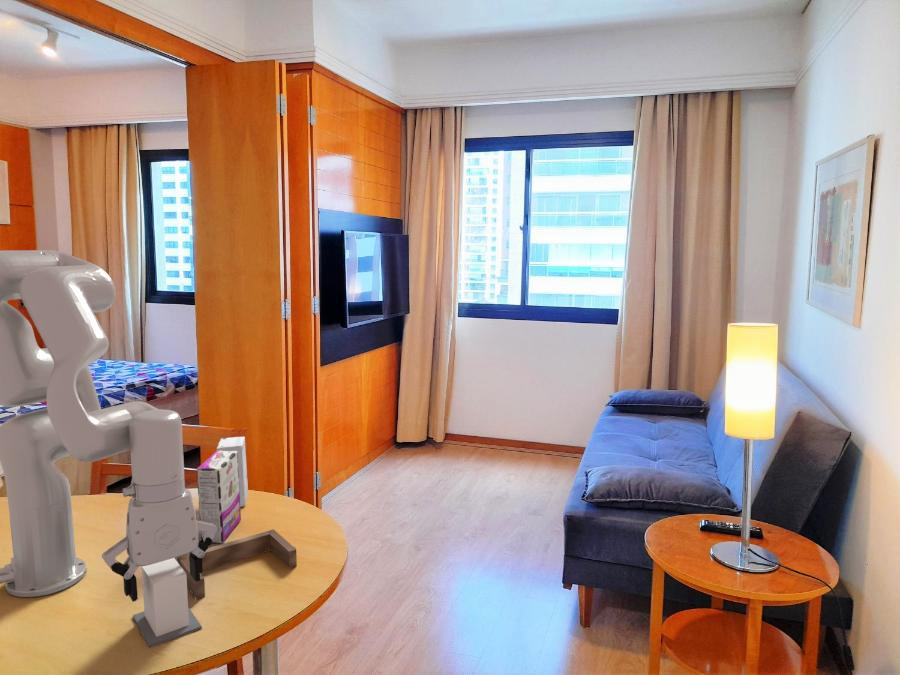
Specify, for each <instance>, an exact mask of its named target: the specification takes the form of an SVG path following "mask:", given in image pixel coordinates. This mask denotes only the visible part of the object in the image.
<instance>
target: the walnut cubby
mask: <svg viewBox="0 0 900 675" xmlns="http://www.w3.org/2000/svg"><path fill="white" fill-rule="evenodd" d="M268 550H269V551H270V550H271V551H270V552H271V553H273V554H274V556H276V557H277V558H278V559H279V560H280V561H281V562H282V563H283V564H284V565H285V566H286V567H287V566H288V567H289V568H290V569H292V568H295V567H294V566H296V567H297V563H298V562H297V556H298V555H297V548H295V547H294V546H293V545H292V544H291V543H290V542H288V541H287V540H286V538H284V537H283V536H282V535H281V534H279V533H278V531H276V530H275V529H270V530H266V531H263V532H261V533H256V534H253V535H249V536H245V537H243V538H238V539H235V540H232V541H228V542H226V543H225V542H224V543H220V544H218V545H214V546H211V547H210V546H209V547H208V549H207V550H206V551H205V555H204V556H203V557H202V567H203V570H204V571H206V570H210V569H209V568H211V569H214V568H217V567H220V566H224V565H226V563H227V564H231V563H234V562H237V561H240V560H243V559H246V558H250V557H252V556H256V555H259V553H260V554H262V552H263V553H265V551H266V552H269V551H268ZM189 554H190V553H189ZM189 554H186V555H182V556H179V557H176V559H177V560H176V561H177V562H178V564H179V565H180V566H181V568H182V569H183V570H184V571H185V573H186V576H187V590H189V591H190V593H191V594H192V596H193V597H194V598H195V600H199V599H202V598H206V591H205V590H206V588H205V587H206V586H205V578H204V576H203V575H202V573H200V581H195V580H194V579H193V578H192V576H191V575H190V562H189ZM223 564H224V565H223ZM213 567H214V568H213ZM288 567H287V568H288ZM289 568H288V569H289Z"/></svg>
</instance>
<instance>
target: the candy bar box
mask: <svg viewBox="0 0 900 675" xmlns="http://www.w3.org/2000/svg"><path fill="white" fill-rule="evenodd" d="M237 452H238V451H222V450H219V451H217V450H216V451H215V452H214V453H213V454H212V455H210V457H209V458H207V459H206V460H205V461H204V462H203V463H202V464H201V465H199V466H198V467H197V468H196V478H197V479H196V480H197V496H198V507H199V508H198V509H199V510H198V511H199V521H202V522H207V523H212V524H214V525H215V526H216V527H217V531H216V533H215V536H214V538H213V539H212V544H224V543H225V541H226V540H227V539H228V537H229V536H230V535H231V533H233V531H234V529H236V527H237V526H238V525H239V524H240V522H241V520H242V516H241V507H240V491H239V473H238V454H237ZM204 535H205V532H204V531H200V540H201V539H202V537H203V536H204Z"/></svg>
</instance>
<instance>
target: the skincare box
mask: <svg viewBox="0 0 900 675" xmlns="http://www.w3.org/2000/svg"><path fill="white" fill-rule="evenodd" d="M217 444H218V445H217V447H216V451H219V450H222V451H238V452H237V454H238V473H239V491H240V508H244V507H246V505H247V504H246V502H247V498H248V496H249V488H248V487H249V486H248V483H249V482H248V471H247V470H248V469H247V455H246V437H245V436H233V437H224V438H220V440H219V442H217ZM247 491H248V492H247Z"/></svg>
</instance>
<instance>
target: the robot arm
mask: <svg viewBox="0 0 900 675" xmlns="http://www.w3.org/2000/svg"><path fill="white" fill-rule="evenodd" d="M116 294H117V292H116V287H115V283H114V281H113V279H112V278H111V276H110V275H109V273H107V271H106V270H104V269H103V267H100V266H98V265H97V264H94V263H92V262H90V261H88V260H85V259H81V258H79V257H76V256H73V255H71V254H68V253H66V252H62V251H58V250H52V249H49V250H48V249H45V250H44V249H43V250H42V249H36V250H35V249H34V250H33V249H31V250H10V249H9V250H0V405H1V406H3V407H7V408H16V407H23V406H28V405H33V404H37V403H38V404H39V403H41V402H45V401H46V408H41V409H38V410H34V411H29V412H25V413H22V414H19V415H16V416H13V417H11V418H9V419H7V420H5V421H4V422H3V423H1V425H0V465H1V469H2V472H3V473H2V474H3V476H4V481H5V488H6V496H7V506H8V513H9V523H10V524H9V525H10V534H11V535H10V536H11V543H12V555H13V557H11V558H10V563H9V564H5V565H4V567H0V585H1V584H4V583H5V590H6V592H7V593H8V594H10V595H12V596H14V597H20V598H35V597H42V596H46V595H50V594H55V593H58V592H59V591H62V590H65V589H67V588H69V587H71V586H74V585H75V584H77V583H78V582H79V581H81V579H82V578H83V577H84V576H85V575H86V573H87V564H86V562H85V560H83V559H81V558H79V557H77V556H76V554H77V553H76V544H75V532H74V519H73V506H72V495H71V484H70V481H69V479H68V477H67V476H66V475H65V474H64V472H62V471H61V470H60V469H58V468H57V466H56V463H55V462H57V461H59V460H62V459H64V458H66V457H69V456H72V457H73V459H75V460H78V462H84V463H92V462H94V463H95V462H98V461H100V460H103V459H107V458H110V457H112V456H116V455H117V454H121V453H124V452H127V451H130V463H131V464H130V465H131V481H130V482H131V483H130V485H129V486H127V487H124V488H122V495H123V497H124V498H127V497H131V498H130V499H129V501H128V506H127V513H126V514H127V515H126V526H125V527H126V529H125V537H124V538H122V539H121V540H119V541H118V542H116V543H115V544H114V545H113V546H111V547H109V548H108V549H107V550H105V551H104V552H103V553H102V554H101V557H102V560H103V561H104V562H105V564H106V565H107V566H108V567H109V568H110V570H111V571H112V572H113V573H115V574H117V575H119V576H121V577H122V580H123V591H124V595H125V596H126V597H128V596H129V598H130V600H131V601H132V603H134V602H136V601H137V600H139V598H138V596H139V595H138V583H137V582H138V580H137V577H136V575H135V573H136V571H137V570H138V568H140V567H141V568H142V566H147V565H151V564H155V563H158V562H162V561H165V560H169V559H172V558H175V559H177V557H179V556H183V555H186V554H189V562H190V575H191V576H192V578H193V579H194V580H195V581H200V574H202V573H203V572H204V571H203V567H202V557H203V556H204V555H205V551H206V550H207V549H208V548H210V546H211V545H212V544H213V543H212V539H213V538H214V536H215V533H216V531H217V527H216V526H215V525H214V524H212V523H207V522H202V521H200V520H199V519H198V520H197V515H196V514H197V513H196V509H195V503H194V498H193V495H192V493H191V491H190V490H189V489H188V488H186V481H185V463H184V462H185V461H184V446H183V445H184V444H183V442H184V441H183V425H182V424H183V423H182V418H181V416H180V414H179V413H178V412H176V411H174V410H172V409H162V408H160V409H159V408H157V407H155V406H153V405H152V404H149V403H148V402H145V401H141V400H140V401H138V400H136V401H135V400H134V401H129V402H125V403H121V404H118V405H113V406H108V407H105V408H102V407H101V404H100V401H99V397H98V394H97V388H96V386H95V382H94V378H93V376H92V372H91V369H90V365H92V364H93V363H94V362H96V361H98V360H99V359H100V358H102V356H104V355H105V353H106V352H107V351H108V349H109V347H110V342H109V339H108V336H107V335H106V333H105V331H104V329H103V327H102V326H101V323H100V322H99V320H98V318H97V316H96V315H95V313H101V312H105V311H107V310H110V308H111V307H112V306H113V305H114V303H115V301H116ZM12 300H13V301H14V300H22V303H23V305H24V307H25V309H26V310H27V313H28V315H29V316H30V319H31V320H32V322H33V324H34V326H35V328H36V329H37V331H38V333H39V335H40V337H41V339H42V341H43V343H44V345H45V347H44V348H40V346H39V345H38V342H37V340H36V337H35V333H34V329H33V326H32V324H31V323H30V322H29V320H28V319H27V317H25V316H24V314H22V313H21V312H20V311H19V310H18V309H17V308H15V307H14V306H13V305H11V304H9V303H8V301H12ZM199 531H200V532H201V531H204V532H205V535H204V536H203V537H202V539H201V538H200V539H199V537H200V536H199ZM123 552H126V554H127V555H128V556H127V558H125V560H124V562H123V563H122V562H120V561H118V560H117V557H118V556H119V555H121V554H122V553H123Z"/></svg>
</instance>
